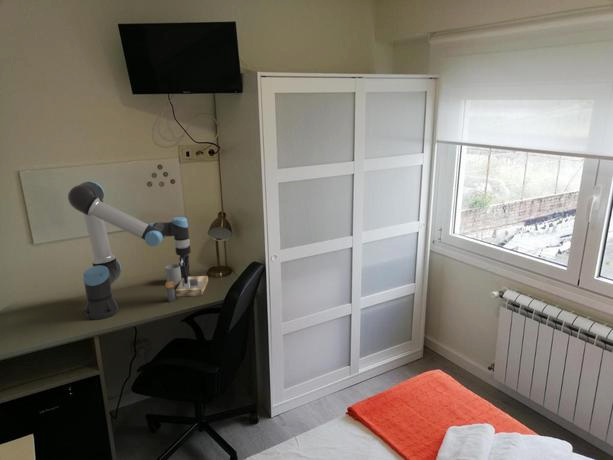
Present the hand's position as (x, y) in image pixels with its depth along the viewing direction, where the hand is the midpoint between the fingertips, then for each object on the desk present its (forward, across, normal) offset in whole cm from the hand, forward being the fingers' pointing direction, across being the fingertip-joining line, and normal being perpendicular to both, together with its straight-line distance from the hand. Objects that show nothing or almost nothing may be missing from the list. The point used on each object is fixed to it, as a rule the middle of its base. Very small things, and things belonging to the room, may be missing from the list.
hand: (187, 288), depth 245 cm
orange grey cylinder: (+5, -3, +8) cm, 10 cm away
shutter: (+2, +8, 0) cm, 8 cm away
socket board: (+5, +12, 0) cm, 13 cm away
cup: (+6, +23, +13) cm, 27 cm away
